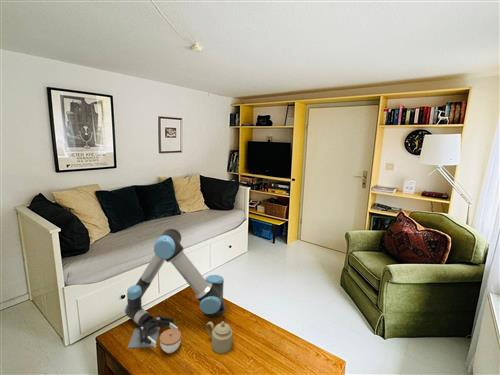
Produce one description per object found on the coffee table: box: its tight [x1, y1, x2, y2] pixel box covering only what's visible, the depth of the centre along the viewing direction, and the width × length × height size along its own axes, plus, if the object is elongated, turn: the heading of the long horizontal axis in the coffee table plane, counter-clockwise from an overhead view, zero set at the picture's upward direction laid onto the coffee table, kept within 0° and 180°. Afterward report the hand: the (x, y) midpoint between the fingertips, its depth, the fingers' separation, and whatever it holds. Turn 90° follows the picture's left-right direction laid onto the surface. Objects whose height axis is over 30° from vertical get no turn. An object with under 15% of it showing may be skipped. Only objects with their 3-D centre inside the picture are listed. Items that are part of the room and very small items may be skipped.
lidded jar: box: [159, 328, 182, 354], centre depth 137 cm, size 11×11×9 cm
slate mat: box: [127, 326, 161, 350], centre depth 144 cm, size 14×14×1 cm
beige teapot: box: [205, 320, 233, 354], centre depth 141 cm, size 15×11×15 cm
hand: (166, 337), depth 138 cm, fingers open, 13 cm apart
